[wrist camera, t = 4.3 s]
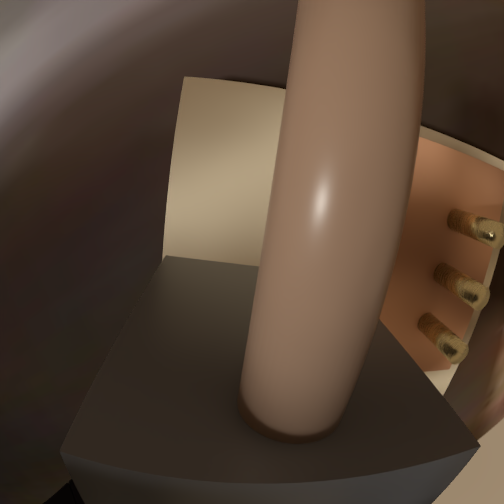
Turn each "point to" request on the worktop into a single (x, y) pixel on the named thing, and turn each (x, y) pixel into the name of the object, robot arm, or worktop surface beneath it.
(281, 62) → the worktop surface
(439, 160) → the birch board
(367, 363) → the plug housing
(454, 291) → the header pins
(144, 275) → the worktop surface
